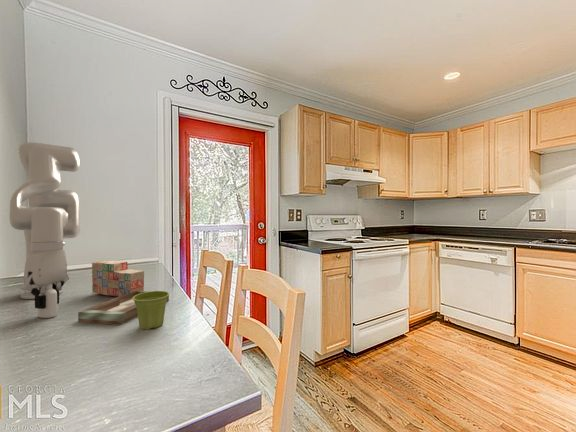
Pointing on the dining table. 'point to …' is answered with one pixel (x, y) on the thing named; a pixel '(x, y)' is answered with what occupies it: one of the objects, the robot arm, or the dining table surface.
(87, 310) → the divided wooden tray
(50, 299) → the eye dropper bottle
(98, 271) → the stack of blocks
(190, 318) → the dining table surface
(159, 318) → the plant pot
